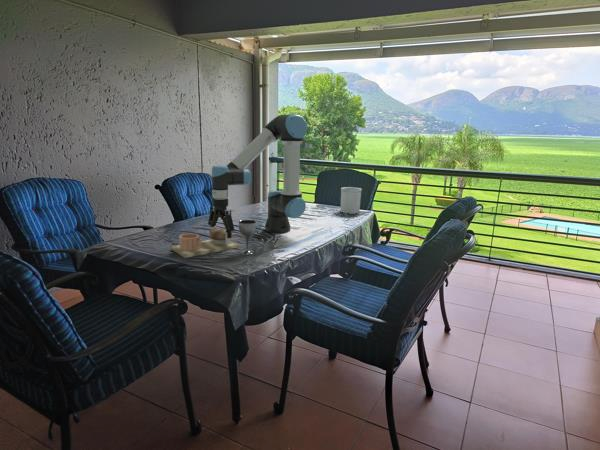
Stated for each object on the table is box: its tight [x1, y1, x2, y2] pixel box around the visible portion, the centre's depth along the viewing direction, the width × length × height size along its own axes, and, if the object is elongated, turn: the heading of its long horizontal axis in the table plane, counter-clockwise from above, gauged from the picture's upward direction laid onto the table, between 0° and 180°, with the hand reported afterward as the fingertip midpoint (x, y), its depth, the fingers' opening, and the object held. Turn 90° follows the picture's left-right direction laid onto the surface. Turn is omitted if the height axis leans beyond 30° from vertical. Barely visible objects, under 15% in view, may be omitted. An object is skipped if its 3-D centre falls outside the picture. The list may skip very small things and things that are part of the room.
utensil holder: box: [340, 186, 363, 215], centre depth 276 cm, size 15×15×18 cm
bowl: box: [178, 233, 200, 251], centre depth 178 cm, size 9×9×6 cm
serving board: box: [171, 239, 240, 259], centre depth 184 cm, size 28×15×2 cm, turn 130°
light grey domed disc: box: [213, 239, 226, 245], centre depth 188 cm, size 8×8×3 cm
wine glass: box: [238, 219, 257, 256], centre depth 178 cm, size 8×8×15 cm
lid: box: [209, 227, 233, 240], centre depth 188 cm, size 11×11×3 cm
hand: (221, 241), depth 189 cm, fingers closed on lid, 11 cm apart
